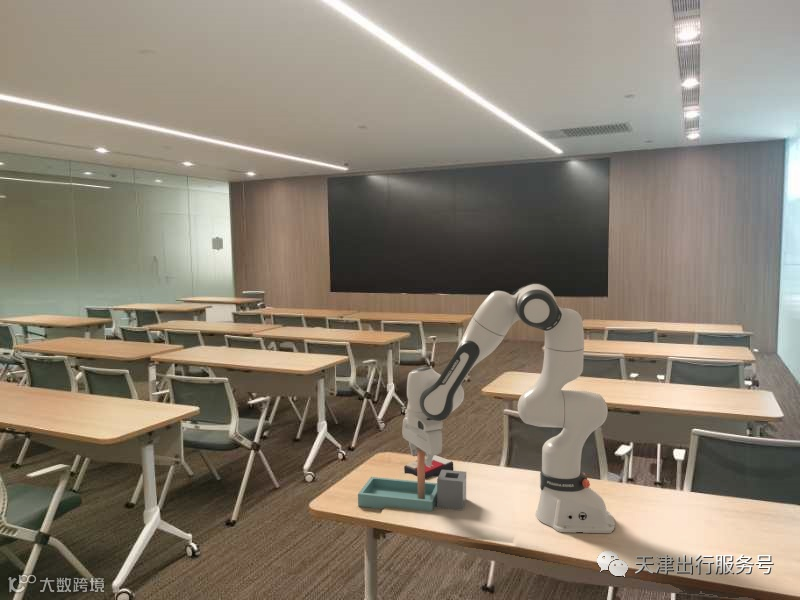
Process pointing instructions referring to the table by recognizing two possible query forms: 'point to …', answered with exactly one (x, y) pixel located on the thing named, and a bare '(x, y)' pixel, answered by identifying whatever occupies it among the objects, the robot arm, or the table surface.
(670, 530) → the table surface
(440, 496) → the grey pencil holder
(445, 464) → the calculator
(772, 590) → the table surface
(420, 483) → the dowel pin
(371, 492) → the tray
